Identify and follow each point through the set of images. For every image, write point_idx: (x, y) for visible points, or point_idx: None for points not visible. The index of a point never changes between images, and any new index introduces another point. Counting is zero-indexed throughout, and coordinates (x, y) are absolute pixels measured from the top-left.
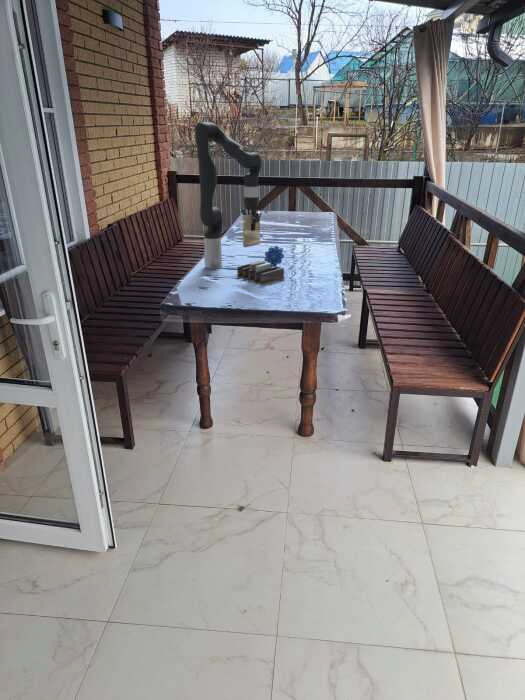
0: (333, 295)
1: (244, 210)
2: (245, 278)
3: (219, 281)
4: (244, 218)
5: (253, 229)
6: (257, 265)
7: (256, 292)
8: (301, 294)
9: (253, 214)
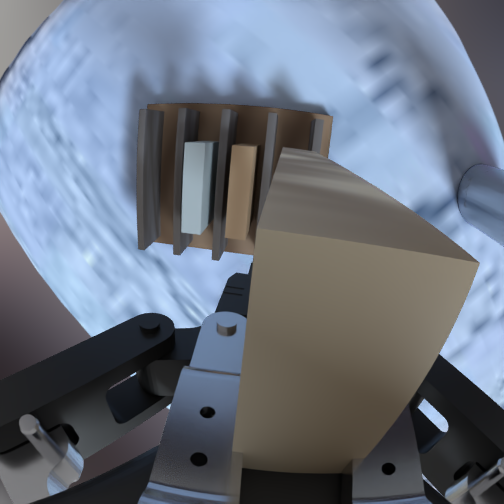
0: (13, 217)
1: (498, 500)
2: (261, 116)
3: (346, 51)
4: (321, 197)
5: (233, 279)
6: (203, 155)
7: (137, 60)
8: (45, 162)
9: (126, 464)
